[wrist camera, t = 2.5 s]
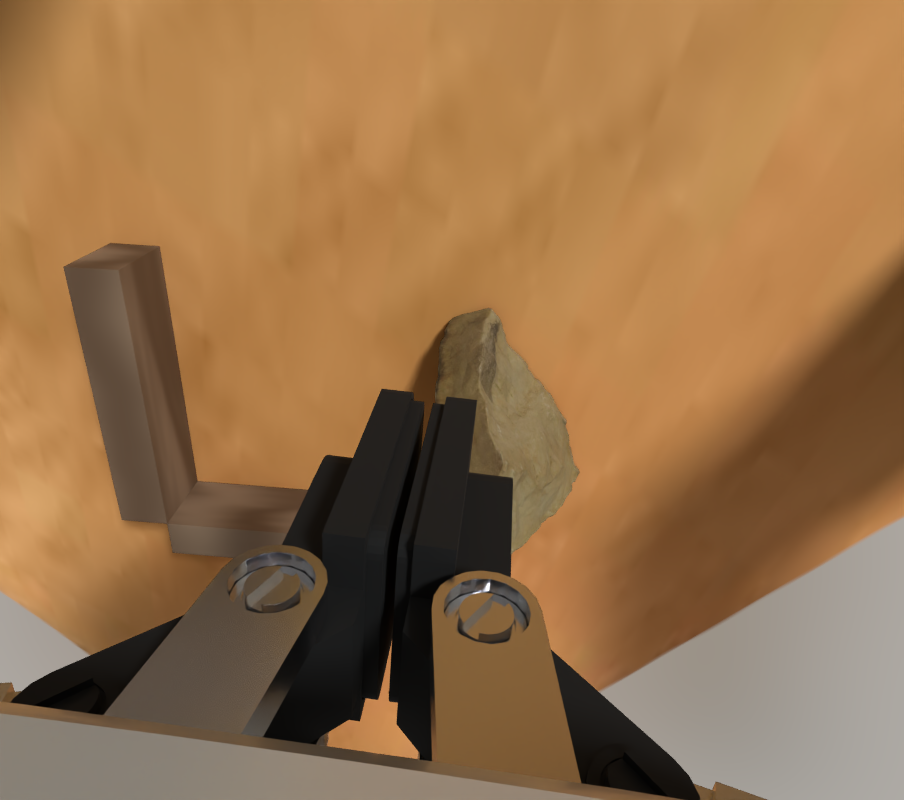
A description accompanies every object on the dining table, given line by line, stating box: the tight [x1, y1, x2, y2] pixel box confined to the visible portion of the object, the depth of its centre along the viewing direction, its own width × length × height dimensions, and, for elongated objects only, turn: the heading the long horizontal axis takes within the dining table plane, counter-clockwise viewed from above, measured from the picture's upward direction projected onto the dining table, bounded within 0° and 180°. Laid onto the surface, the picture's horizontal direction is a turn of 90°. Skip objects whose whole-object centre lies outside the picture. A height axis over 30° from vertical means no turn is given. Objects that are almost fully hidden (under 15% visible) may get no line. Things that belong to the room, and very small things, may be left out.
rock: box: [435, 308, 580, 554], centre depth 33 cm, size 11×9×10 cm
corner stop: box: [64, 243, 308, 558], centre depth 35 cm, size 12×16×4 cm
